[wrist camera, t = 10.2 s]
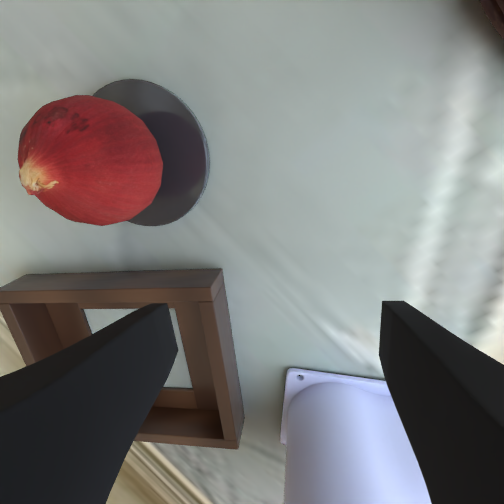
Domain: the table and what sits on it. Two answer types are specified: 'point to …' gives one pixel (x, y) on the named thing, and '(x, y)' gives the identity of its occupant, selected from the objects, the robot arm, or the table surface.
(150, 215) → the coaster
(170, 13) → the table surface
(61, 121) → the onion
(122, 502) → the table surface
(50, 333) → the tray
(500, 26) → the brown tall piece
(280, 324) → the table surface
